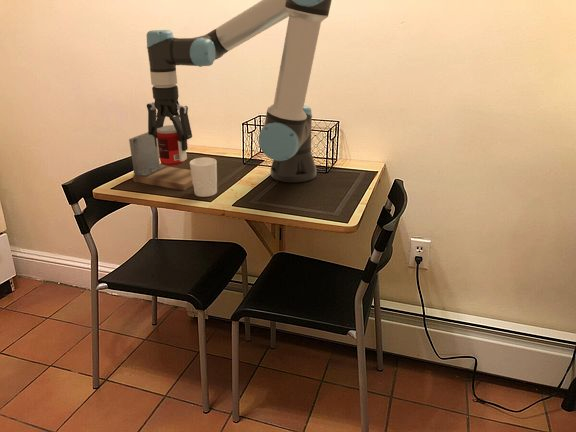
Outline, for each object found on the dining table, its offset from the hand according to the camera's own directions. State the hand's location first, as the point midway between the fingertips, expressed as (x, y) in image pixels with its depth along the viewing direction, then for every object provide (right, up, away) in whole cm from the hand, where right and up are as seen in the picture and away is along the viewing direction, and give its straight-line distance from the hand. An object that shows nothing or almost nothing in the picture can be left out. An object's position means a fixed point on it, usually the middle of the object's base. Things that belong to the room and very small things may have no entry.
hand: (172, 158), depth 158 cm
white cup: (+12, -11, -7) cm, 18 cm away
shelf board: (-2, -7, +4) cm, 8 cm away
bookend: (-8, -3, +6) cm, 11 cm away
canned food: (0, -1, +1) cm, 1 cm away
